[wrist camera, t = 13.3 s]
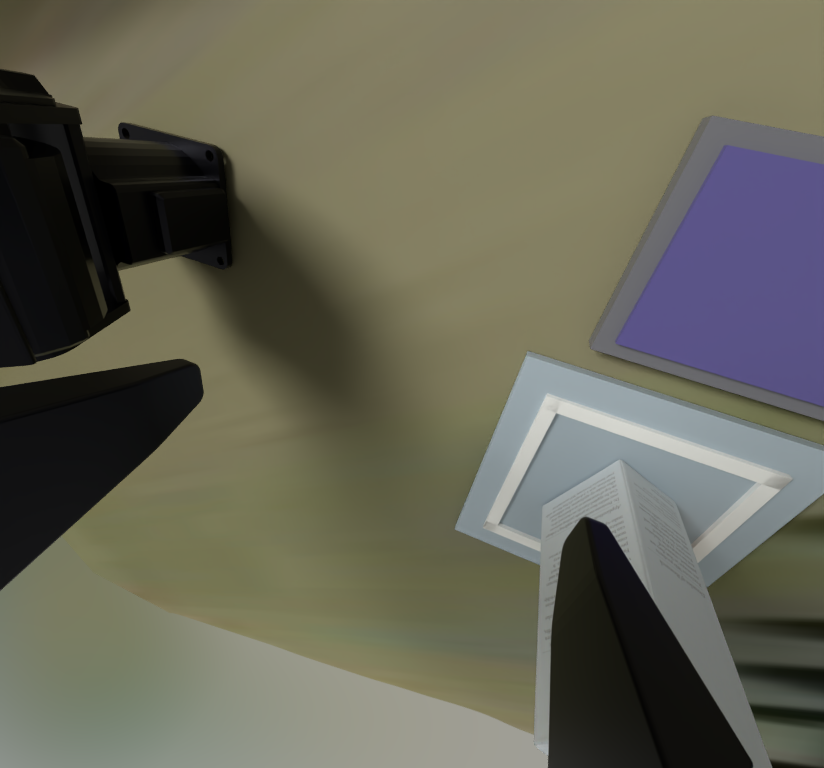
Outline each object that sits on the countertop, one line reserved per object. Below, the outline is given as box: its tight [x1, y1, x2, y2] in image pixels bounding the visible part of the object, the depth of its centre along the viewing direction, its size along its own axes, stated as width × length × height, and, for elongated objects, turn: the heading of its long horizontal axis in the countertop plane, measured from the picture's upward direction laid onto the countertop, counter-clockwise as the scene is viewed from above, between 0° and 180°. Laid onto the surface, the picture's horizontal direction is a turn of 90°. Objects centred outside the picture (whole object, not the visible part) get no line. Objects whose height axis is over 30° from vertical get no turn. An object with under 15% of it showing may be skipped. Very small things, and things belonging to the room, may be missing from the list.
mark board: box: [455, 351, 824, 587], centre depth 22 cm, size 15×15×1 cm
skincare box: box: [534, 460, 772, 768], centre depth 17 cm, size 6×4×12 cm
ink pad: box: [589, 116, 824, 421], centre depth 14 cm, size 12×9×1 cm
